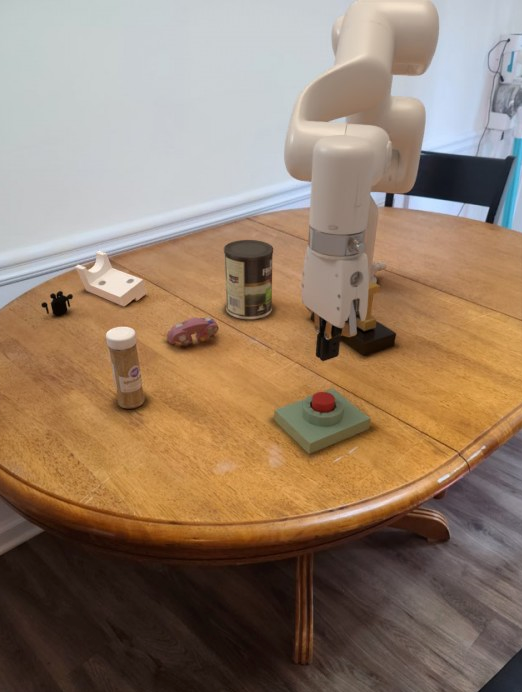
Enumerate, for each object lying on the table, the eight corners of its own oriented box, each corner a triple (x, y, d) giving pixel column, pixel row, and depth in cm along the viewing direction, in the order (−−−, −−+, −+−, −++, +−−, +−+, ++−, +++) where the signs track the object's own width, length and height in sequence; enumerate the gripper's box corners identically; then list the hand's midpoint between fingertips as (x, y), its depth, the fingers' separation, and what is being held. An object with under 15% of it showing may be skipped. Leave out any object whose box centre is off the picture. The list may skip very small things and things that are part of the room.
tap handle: (366, 321, 115) (371, 280, 110) (375, 327, 113) (381, 286, 108) (354, 325, 114) (359, 283, 109) (364, 331, 112) (369, 289, 107)
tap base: (339, 311, 126) (343, 274, 121) (394, 346, 114) (400, 307, 109) (291, 325, 120) (293, 287, 115) (344, 363, 108) (348, 323, 103)
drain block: (332, 398, 99) (333, 379, 96) (369, 429, 92) (372, 409, 90) (274, 420, 93) (274, 400, 91) (309, 454, 86) (310, 434, 84)
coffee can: (276, 301, 129) (277, 241, 121) (266, 322, 121) (267, 259, 112) (233, 296, 130) (231, 237, 122) (220, 316, 122) (217, 254, 114)
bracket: (88, 294, 132) (75, 266, 126) (110, 277, 135) (98, 250, 130) (125, 310, 126) (113, 282, 120) (147, 292, 129) (137, 264, 124)
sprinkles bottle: (135, 412, 94) (124, 341, 86) (112, 405, 95) (99, 335, 87) (150, 397, 97) (141, 328, 89) (127, 391, 98) (116, 323, 91)
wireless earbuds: (73, 307, 124) (69, 286, 121) (79, 311, 122) (75, 290, 120) (43, 317, 120) (38, 295, 117) (49, 321, 118) (44, 299, 115)
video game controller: (171, 355, 111) (174, 335, 106) (164, 337, 113) (166, 316, 107) (218, 345, 115) (223, 324, 109) (210, 327, 117) (214, 306, 111)
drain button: (325, 397, 92) (325, 389, 91) (338, 409, 90) (339, 400, 89) (307, 404, 91) (307, 395, 90) (320, 416, 88) (321, 407, 87)
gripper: (396, 252, 71) (378, 372, 82) (325, 217, 81) (317, 329, 92) (350, 264, 68) (337, 388, 79) (282, 226, 78) (279, 341, 89)
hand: (327, 356), depth 86 cm, fingers closed
